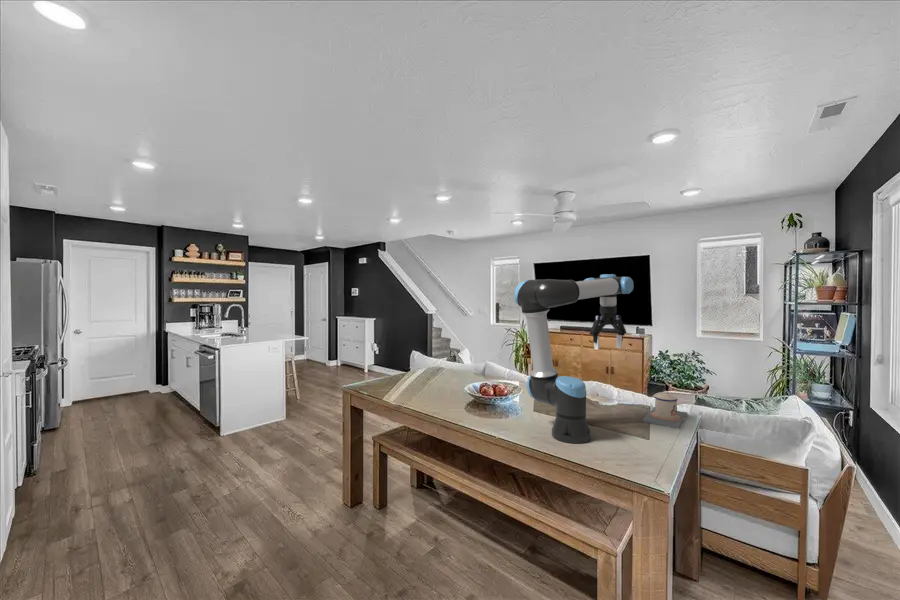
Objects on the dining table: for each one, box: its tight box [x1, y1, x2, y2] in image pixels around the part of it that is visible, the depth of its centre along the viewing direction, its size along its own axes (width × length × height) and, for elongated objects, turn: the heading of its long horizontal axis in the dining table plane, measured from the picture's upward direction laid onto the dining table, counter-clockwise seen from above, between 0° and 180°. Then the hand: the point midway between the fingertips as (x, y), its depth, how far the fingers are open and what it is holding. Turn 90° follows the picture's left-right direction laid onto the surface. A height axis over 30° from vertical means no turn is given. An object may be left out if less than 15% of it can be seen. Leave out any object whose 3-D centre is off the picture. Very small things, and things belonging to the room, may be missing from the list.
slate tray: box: [642, 407, 688, 430], centre depth 176 cm, size 24×14×1 cm, turn 141°
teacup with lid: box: [654, 390, 678, 419], centre depth 176 cm, size 12×9×12 cm
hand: (608, 348), depth 187 cm, fingers open, 13 cm apart
